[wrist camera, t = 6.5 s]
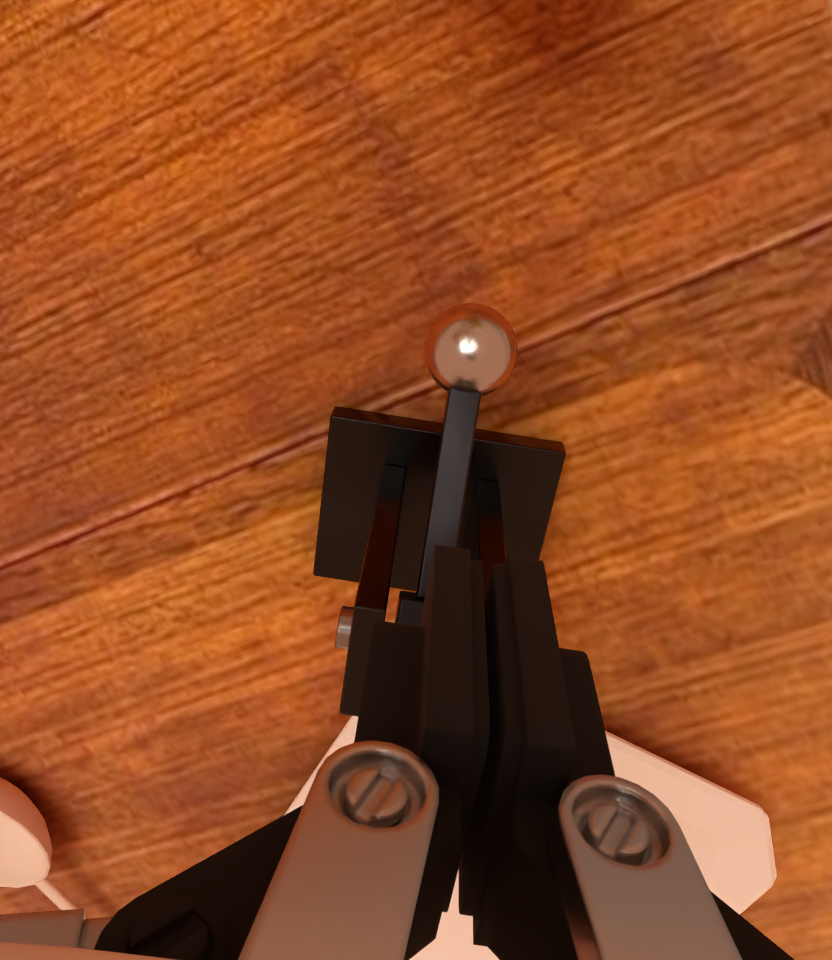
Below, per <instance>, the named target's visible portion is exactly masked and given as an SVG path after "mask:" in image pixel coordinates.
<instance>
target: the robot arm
mask: <svg viewBox="0 0 832 960" xmlns="http://www.w3.org/2000/svg"><path fill="white" fill-rule="evenodd" d="M458 869H459V901H458V903H459V913H460V915H467V916H473V945H479V946H486V947H488V948H489V949H490V950H491V951H492V952H493V953H494V954H495V955H496V957H497V958H498V959H499V960H794V959H793V958H792V957H790V956H789V955H788V954H787V953H785V952H784V951H783V950H782V949H781V948H779V947H778V946H777V945H776V944H775V943H773V942H772V941H771V940H770V939H768V938H767V937H766V936H765V935H764V934H762V933H761V932H760V931H759V930H758V929H756V928H755V927H754V926H753V925H751V924H750V923H749V922H748V921H747V920H745V919H744V918H743V917H742V916H741V915H739V914H738V913H737V912H736V911H734V910H733V909H732V908H731V907H730V906H728V905H727V904H726V903H725V902H724V901H722V900H721V899H720V898H719V897H717V896H716V895H715V894H714V893H713V892H711V891H710V890H709V887H708V885H707V883H706V881H705V879H704V877H703V875H702V873H701V870H700V868H699V866H698V864H697V862H696V860H695V858H694V855H693V853H692V851H691V849H690V847H689V845H688V843H687V841H686V838H685V836H684V834H683V832H682V830H681V828H680V826H679V824H678V822H677V821H676V819H675V817H674V816H673V814H672V813H671V811H670V810H669V808H668V807H667V806H666V805H665V804H664V803H662V802H661V801H660V800H659V799H658V798H657V797H656V796H655V795H654V794H652V793H651V792H649V791H648V790H646V789H645V788H643V787H641V786H640V785H638V784H636V783H633V782H631V781H628V780H626V779H623V778H620V777H615V772H614V768H613V764H612V759H611V755H610V750H609V746H608V742H607V737H606V733H605V729H604V724H603V720H602V716H601V711H600V707H599V702H598V698H597V694H596V689H595V685H594V681H593V676H592V672H591V668H590V663H589V660H588V657H587V654H586V653H584V652H582V651H576V650H569V649H562V648H559V646H558V640H557V635H556V629H555V624H554V618H553V612H552V607H551V601H550V596H549V590H548V585H547V579H546V573H545V568H544V563H543V561H539V560H533V559H526V558H520V557H513V556H507V557H506V559H505V561H504V564H498V563H492V565H491V568H490V572H489V576H488V581H487V585H486V590H485V594H484V583H483V563H482V561H479V560H472V559H470V550H468V549H461V548H455V547H448V546H442V545H435V547H434V551H433V556H432V561H431V567H430V572H429V578H428V583H427V589H426V594H425V600H424V605H423V611H422V616H421V622H420V627H418V626H411V625H404V624H398V623H391V622H385V621H378V620H374V626H373V632H372V638H371V644H370V650H369V656H368V662H367V668H366V674H365V680H364V686H363V692H362V698H361V704H360V710H359V716H358V722H357V728H356V734H355V740H354V743H352V744H349V745H346V746H344V747H341V748H339V749H337V750H336V751H335V752H333V753H332V754H331V755H329V756H328V757H327V758H326V759H325V761H324V762H323V764H322V765H321V767H320V768H319V770H318V771H317V774H316V776H315V778H314V781H313V783H312V786H311V788H310V790H309V793H308V795H307V797H306V800H305V802H304V804H303V805H302V806H300V807H298V808H296V809H295V810H293V811H291V812H289V813H287V814H286V815H284V816H282V817H280V818H278V819H277V820H275V821H273V822H271V823H269V824H268V825H266V826H264V827H262V828H260V829H259V830H257V831H255V832H253V833H252V834H250V835H248V836H246V837H244V838H243V839H241V840H239V841H237V842H235V843H234V844H232V845H230V846H228V847H226V848H225V849H223V850H221V851H219V852H217V853H216V854H214V855H212V856H210V857H209V858H207V859H205V860H203V861H201V862H200V863H198V864H196V865H194V866H192V867H191V868H189V869H187V870H185V871H183V872H182V873H180V874H178V875H176V876H174V877H173V878H171V879H169V880H167V881H166V882H164V883H162V884H160V885H158V886H157V887H155V888H153V889H151V890H149V891H148V892H146V893H144V894H142V895H140V896H139V897H137V898H135V899H134V900H133V901H131V902H130V903H129V904H127V905H126V906H125V907H123V908H122V909H120V910H119V911H118V912H117V913H116V914H115V915H114V916H113V917H104V918H91V919H85V908H84V909H71V910H58V911H45V912H32V913H19V914H6V915H0V960H410V959H411V958H412V957H413V956H415V955H416V954H417V953H418V952H420V951H421V950H422V949H423V948H425V947H426V946H427V945H428V944H430V943H431V942H432V941H433V940H435V939H436V935H437V931H438V927H439V923H440V919H441V915H442V912H447V911H448V909H449V905H450V901H451V897H452V893H453V889H454V885H455V881H456V877H457V873H458Z"/></svg>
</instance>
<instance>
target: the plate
mask: <svg viewBox="0 0 832 960" xmlns="http://www.w3.org/2000/svg"><path fill="white" fill-rule="evenodd" d="M357 722H358V717H357V716H351V718H350V719H349V721H348V722H347V723H346V725H345V726H344V728H343V729H342V731H341V732H340V734H339V735H338V737H337V738H336V740H335V741H334V742H333V744H332V745H331V747H330V748H329V750H328V751H327V753H326V754H325V756H324V757H323V759H322V760H321V761H320V763H319V764H318V766H317V767H316V769H315V770H314V772H313V773H312V775H311V776H310V777H309V779H308V780H307V782H306V783H305V785H304V786H303V788H302V789H301V791H300V792H299V794H298V795H297V796H296V798H295V799H294V801H293V802H292V804H291V805H290V807H289V808H288V810H287V811H286V813H285V814H284V815H286V814H287V813H289V812H291V811H293V810H295V809H296V808H298V807H300V806H302V805H303V804H304V802H305V800H306V797H307V795H308V793H309V790H310V788H311V786H312V783H313V781H314V778H315V776H316V774H317V771H318V770H319V768H320V767H321V765H322V764H323V762H324V761H325V759H326V758H327V757H328V756H329V755H331V754H332V753H333V752H335V751H336V750H337V749H339V748H341V747H344V746H346V745H349V744H352V743H354V740H355V734H356V728H357ZM605 733H606V737H607V742H608V746H609V750H610V755H611V759H612V764H613V768H614V772H615V777H620V778H623V779H626V780H628V781H631V782H633V783H636V784H638V785H640V786H641V787H643V788H645V789H646V790H648V791H649V792H651V793H652V794H654V795H655V796H656V797H657V798H658V799H659V800H660V801H661V802H662V803H664V804H665V805H666V806H667V807H668V808H669V810H670V811H671V813H672V814H673V816H674V817H675V819H676V821H677V822H678V824H679V826H680V828H681V830H682V832H683V834H684V836H685V838H686V841H687V843H688V845H689V847H690V849H691V851H692V853H693V855H694V858H695V860H696V862H697V864H698V866H699V868H700V870H701V873H702V875H703V877H704V879H705V881H706V883H707V885H708V887H709V890H710V891H711V892H713V893H714V894H715V895H716V896H717V897H719V898H720V899H721V900H722V901H724V902H725V903H726V904H727V905H728V906H730V907H731V908H732V909H733V910H734V911H736V912H737V913H738V914H739V915H740V914H741V913H742V912H743V911H744V910H745V909H747V908H748V907H749V906H750V905H751V904H752V903H753V902H755V901H756V900H757V899H758V898H759V897H760V896H762V895H763V894H764V893H765V892H766V891H767V890H769V889H770V888H771V887H772V886H773V883H774V881H775V879H776V877H777V874H776V867H775V860H774V853H773V845H772V838H771V831H770V823H769V818H768V815H767V814H766V813H765V811H764V810H763V809H762V808H761V807H760V806H759V805H758V804H756V803H754V802H752V801H750V800H748V799H746V798H744V797H742V796H740V795H738V794H736V793H734V792H732V791H730V790H728V789H725V788H723V787H721V786H719V785H717V784H715V783H713V782H711V781H709V780H707V779H705V778H703V777H701V776H699V775H696V774H694V773H692V772H690V771H688V770H686V769H684V768H682V767H680V766H678V765H676V764H674V763H672V762H670V761H667V760H665V759H663V758H661V757H659V756H657V755H655V754H653V753H651V752H649V751H647V750H645V749H643V748H641V747H639V746H636V745H634V744H632V743H630V742H628V741H626V740H624V739H622V738H620V737H618V736H616V735H614V734H612V733H610V732H608V731H605ZM284 815H283V816H284ZM458 901H459V869H458V873H457V877H456V881H455V885H454V889H453V893H452V897H451V901H450V905H449V909H448V911H447V912H442V915H441V919H440V923H439V927H438V931H437V935H436V939H435V940H433V941H432V942H431V943H430V944H428V945H427V946H426V947H425V948H423V949H422V950H421V951H420V952H418V953H417V954H416V955H415V956H413V957H412V958H411V959H410V960H499V959H498V958H497V957H496V955H495V954H494V953H493V952H492V951H491V950H490V949H489V948H488V947H486V946H479V945H473V916H467V915H460V913H459V903H458Z"/></svg>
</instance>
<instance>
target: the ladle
mask: <svg viewBox="0 0 832 960" xmlns="http://www.w3.org/2000/svg"><path fill="white" fill-rule="evenodd" d="M51 856H52V845H51V841H50V836H49V833H48V829H47V826H46V822H45V820H44V818H43V816H42V815H41V813H40V812H39V810H38V809H37V807H36V806H35V805H34V804H33V803H32V801H31V800H30V799H29V798H28V797H27V796H26V795H25V794H24V793H23V792H22V791H21V790H20V789H19V788H17V787H16V786H14V785H13V784H11V783H10V782H8V781H7V780H5V779H2V778H0V886H3V887H24V886H30V885H36V886H37V887H38V888H39V889H40V890H41V891H42V892H43V893H44V894H45V895H46V896H47V897H48V898H49V899H50V900H51V901H52V902H54V903H55V904H56V905H57V906H58V907H59V908H60V909H61V910H71V909H78V908H77V907H76V906H75V905H74V904H73V903H72V902H71V901H70V900H69V899H68V898H67V897H66V896H65V895H64V894H63V893H62V892H61V891H60V890H59V889H58V888H57V887H55V886H54V885H53V884H52V883H51V882H50V881H49V880H48V879H47V878H46V877H47V874H48V872H49V869H50V865H51ZM85 919H88V918H87V917H86V916H85Z"/></svg>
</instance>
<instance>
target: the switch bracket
mask: <svg viewBox="0 0 832 960" xmlns="http://www.w3.org/2000/svg"><path fill="white" fill-rule="evenodd" d="M442 425H443V423H437V422H430V421H424V420H418V419H412V418H405V417H399V416H393V415H386V414H380V413H374V412H368V411H361V410H355V409H349V408H342V407H334V409H333V412H332V414H331V417H330V426H329V435H328V444H327V453H326V462H325V471H324V481H323V490H322V499H321V508H320V517H319V526H318V535H317V544H316V553H315V562H314V571H313V574H314V575H315V576H321V577H328V578H334V579H341V580H347V581H353V582H359V585H358V590H357V595H356V600H355V604H354V608H353V607H346V606H342V608H341V611H340V615H339V620H338V626H337V632H336V640H335V647H337V648H343V649H348V653H347V660H346V667H345V675H344V682H343V689H342V696H341V703H340V710H339V711H340V714H344V715H350V716H357V717H358V716H359V710H360V704H361V698H362V692H363V686H364V680H365V674H366V668H367V662H368V656H369V650H370V644H371V638H372V632H373V626H374V620H378V621H385V615H386V608H387V602H388V595H389V588H390V587H392V588H399V589H405V590H411V591H417V585H418V578H419V572H420V565H421V559H422V553H423V546H424V540H425V533H426V527H427V521H428V514H429V508H430V501H431V495H432V489H433V482H434V476H435V470H436V463H437V457H438V450H439V444H440V438H441V431H442ZM565 455H566V453H565V449H564V446H563V443H562V442H556V441H550V440H543V439H537V438H531V437H525V436H518V435H512V434H506V433H499V432H493V431H487V430H481V429H476V431H475V438H474V444H473V450H472V457H471V463H470V470H469V476H468V483H467V489H466V496H465V502H464V508H463V515H462V521H461V528H460V534H459V541H458V547H457V548H461V549H468V550H470V559H472V560H479V561H482V563H483V583H484V594H485V590H486V585H487V581H488V576H489V572H490V568H491V565H492V563H498V564H504V561H505V559H506V557H507V556H513V557H520V558H526V559H533V560H539V557H540V553H541V549H542V545H543V541H544V537H545V534H546V530H547V526H548V522H549V518H550V514H551V510H552V506H553V502H554V498H555V494H556V490H557V486H558V483H559V479H560V475H561V471H562V467H563V463H564V459H565Z"/></svg>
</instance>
